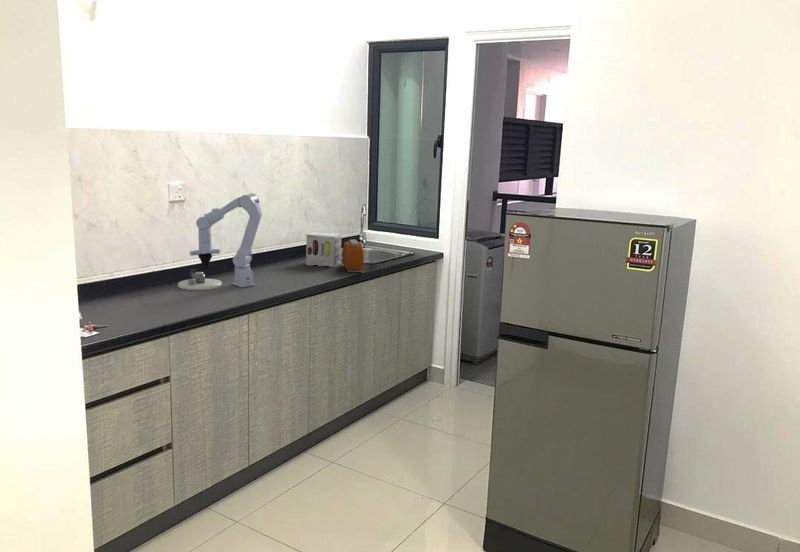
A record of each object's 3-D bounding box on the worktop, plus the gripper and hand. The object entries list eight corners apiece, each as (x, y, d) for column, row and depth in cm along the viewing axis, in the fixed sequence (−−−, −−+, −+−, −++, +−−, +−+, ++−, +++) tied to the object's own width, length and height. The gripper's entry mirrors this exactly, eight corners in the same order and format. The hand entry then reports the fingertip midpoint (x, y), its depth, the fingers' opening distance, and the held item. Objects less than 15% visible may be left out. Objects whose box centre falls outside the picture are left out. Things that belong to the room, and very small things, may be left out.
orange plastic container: (363, 273, 353) (364, 243, 350) (347, 273, 351) (348, 242, 348) (357, 265, 375) (358, 236, 372) (342, 265, 373) (342, 236, 370)
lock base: (229, 287, 308) (229, 279, 307) (188, 292, 295) (188, 283, 294) (211, 279, 323) (210, 272, 322) (171, 284, 310) (171, 276, 309)
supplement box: (305, 265, 370) (305, 234, 366) (313, 261, 382) (313, 231, 379) (334, 267, 366) (334, 236, 362) (341, 263, 379) (341, 233, 375)
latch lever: (206, 282, 308) (206, 272, 307) (197, 283, 305) (197, 273, 304) (196, 278, 317) (195, 268, 316) (187, 279, 314) (187, 269, 313)
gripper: (215, 239, 320) (215, 266, 323) (186, 241, 311) (187, 269, 314) (221, 241, 315) (222, 268, 318) (193, 243, 306) (193, 271, 309)
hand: (205, 269), depth 315 cm, fingers closed
